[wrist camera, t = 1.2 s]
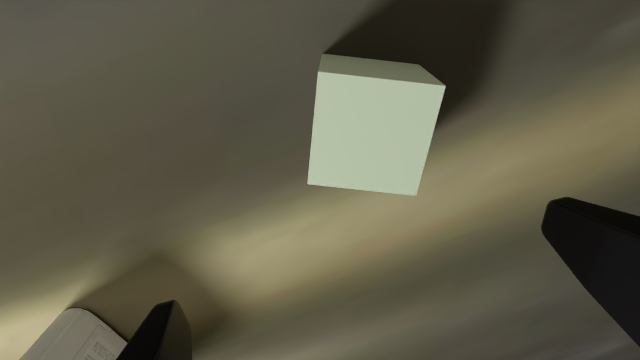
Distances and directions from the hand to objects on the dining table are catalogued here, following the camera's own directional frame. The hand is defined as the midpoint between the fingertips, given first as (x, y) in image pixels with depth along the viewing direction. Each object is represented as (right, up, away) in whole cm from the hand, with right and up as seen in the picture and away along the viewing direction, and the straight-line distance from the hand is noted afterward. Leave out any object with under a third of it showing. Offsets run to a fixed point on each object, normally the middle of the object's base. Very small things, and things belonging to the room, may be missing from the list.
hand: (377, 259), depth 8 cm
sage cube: (+1, +6, +11) cm, 13 cm away
